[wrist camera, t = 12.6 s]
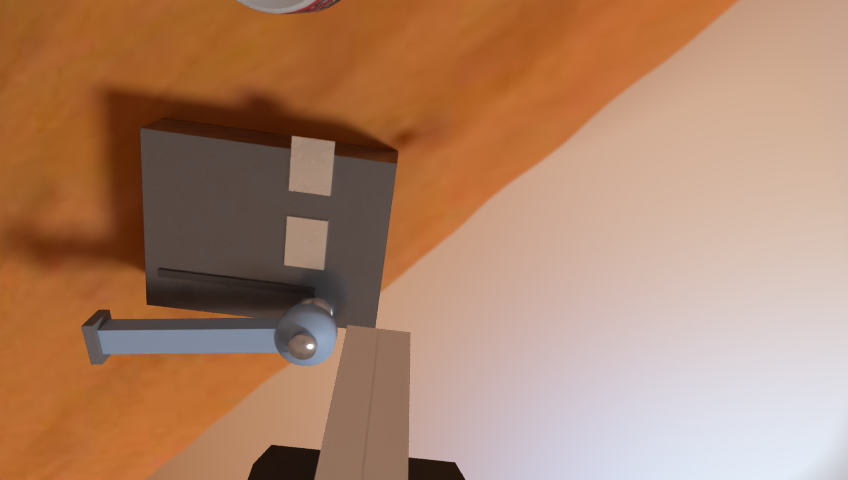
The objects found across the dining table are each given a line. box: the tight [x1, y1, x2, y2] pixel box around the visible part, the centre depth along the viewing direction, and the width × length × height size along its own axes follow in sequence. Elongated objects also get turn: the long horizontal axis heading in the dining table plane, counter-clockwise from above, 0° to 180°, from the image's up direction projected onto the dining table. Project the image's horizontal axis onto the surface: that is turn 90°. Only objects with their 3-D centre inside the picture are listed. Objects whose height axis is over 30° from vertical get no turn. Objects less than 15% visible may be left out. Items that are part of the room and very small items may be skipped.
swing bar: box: [81, 303, 337, 366], centre depth 42 cm, size 18×4×2 cm, turn 90°
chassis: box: [140, 118, 398, 360], centre depth 42 cm, size 18×16×9 cm
